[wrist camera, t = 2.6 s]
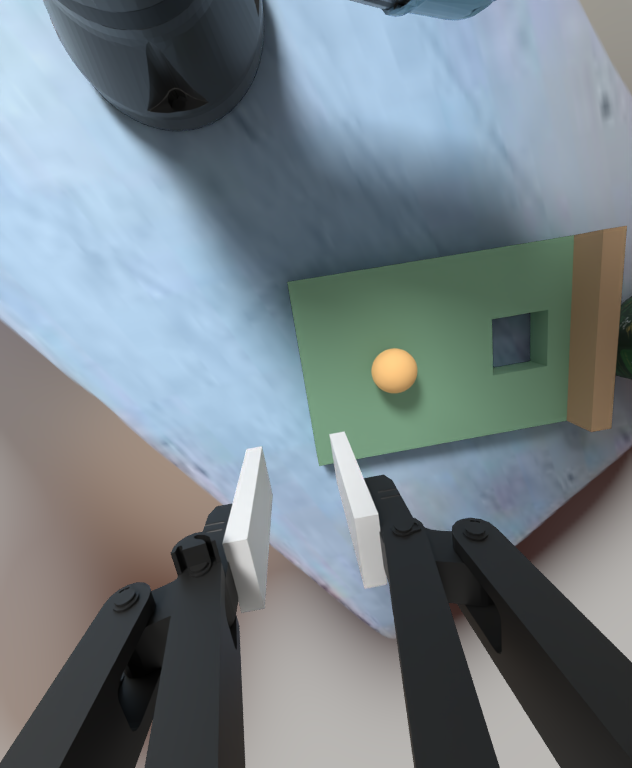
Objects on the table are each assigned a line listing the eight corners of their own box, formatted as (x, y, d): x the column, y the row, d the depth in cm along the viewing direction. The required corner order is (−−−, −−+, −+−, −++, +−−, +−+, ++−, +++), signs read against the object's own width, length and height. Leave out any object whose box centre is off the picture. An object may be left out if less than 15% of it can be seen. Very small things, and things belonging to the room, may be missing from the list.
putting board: (317, 454, 37) (322, 481, 32) (287, 282, 33) (287, 281, 27) (566, 409, 38) (611, 428, 33) (573, 235, 34) (626, 225, 28)
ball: (358, 371, 33) (368, 382, 29) (384, 336, 32) (397, 343, 28) (390, 394, 34) (404, 407, 30) (416, 361, 33) (434, 370, 29)
